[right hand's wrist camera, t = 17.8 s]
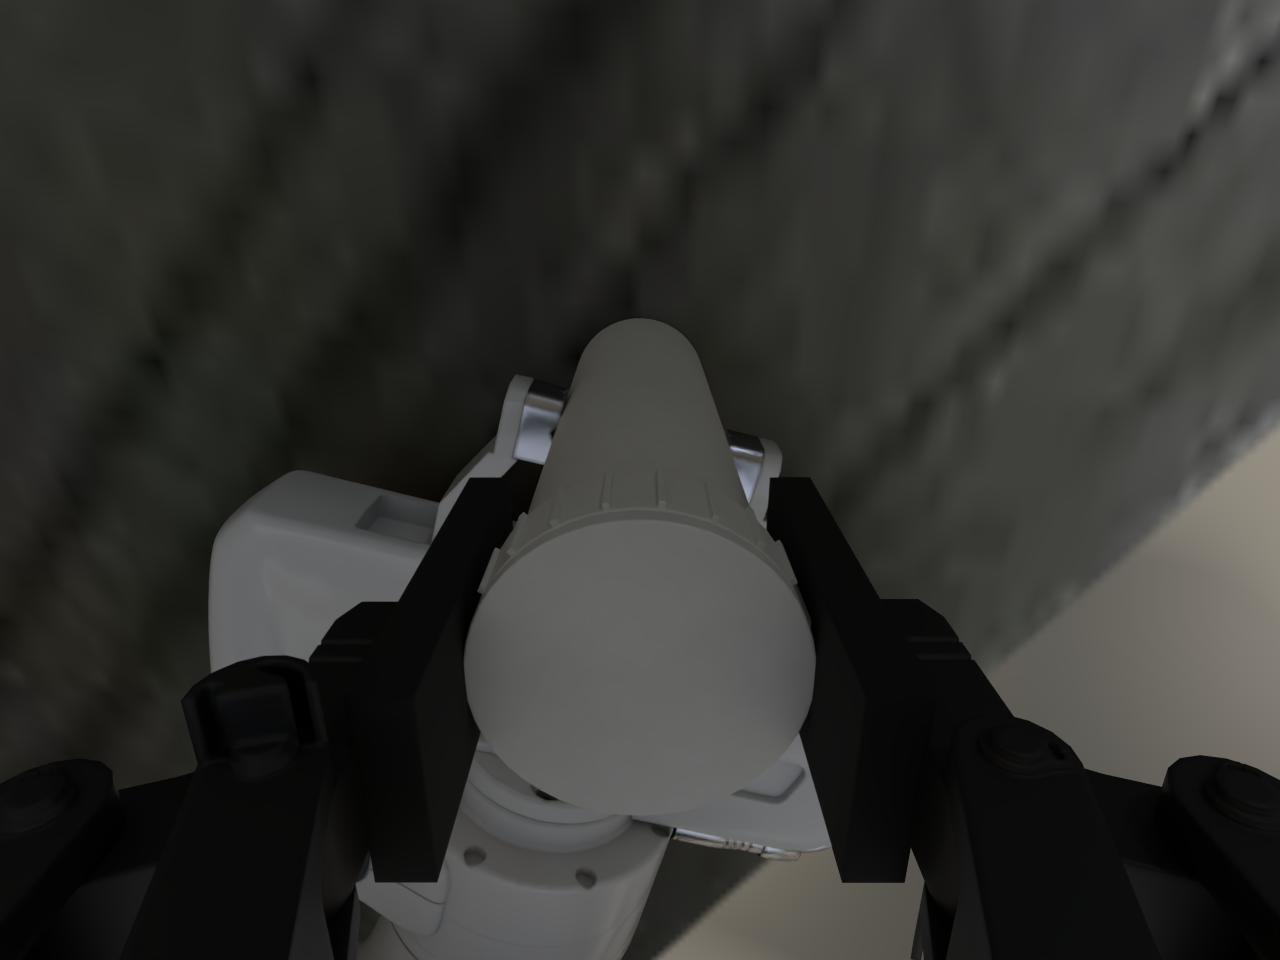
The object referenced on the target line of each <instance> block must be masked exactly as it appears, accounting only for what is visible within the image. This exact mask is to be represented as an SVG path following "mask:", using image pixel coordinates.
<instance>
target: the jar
mask: <svg viewBox="0 0 1280 960" xmlns="http://www.w3.org/2000/svg"><path fill="white" fill-rule="evenodd" d="M657 469H658V470H664V475H668V476H674V477H680V478H683V479H687V480H690V481H693V482H697V483H700V484H703V485H705V483H706V481H707V482H710V483H712V484H713V488H714V490H716V491H718V492H720V493H722V494H724V495H725V496H727V497H728V498H730V499H732V500H733V501H735V502H737V503H738V504H739V505H741V506H742V507H743V508H744V509H746V508H747V507H748V506H749V503H748V500H747V497H746V494H745V492H744V489H743V486H742V483H741V480H740V477H739V474H738V471H737V468H736V465H735V462H734V459H733V456H732V453H731V450H730V447H729V444H728V442H727V439H726V436H725V433H724V430H723V427H722V424H721V421H720V418H719V415H718V412H717V409H716V406H715V403H714V400H713V397H712V395H711V392H710V389H709V386H708V383H707V380H706V377H705V374H704V371H703V368H702V365H701V362H700V360H699V357H698V355H697V353H696V351H695V349H694V347H693V346H692V345H691V343H690V342H689V341H688V339H687V338H686V337H685V336H684V335H683V334H681V333H680V332H679V331H677V330H676V329H675V328H673V327H671V326H669V325H668V324H665V323H663V322H660V321H656V320H652V319H645V318H634V319H627V320H623V321H620V322H617V323H614V324H612V325H610V326H608V327H607V328H605V329H603V330H602V331H601V332H599V333H598V334H597V335H596V336H595V337H594V338H593V339H592V340H591V341H590V342H589V344H588V345H587V347H586V348H585V350H584V352H583V354H582V355H581V358H580V361H579V364H578V367H577V369H576V372H575V375H574V378H573V381H572V384H571V387H570V390H569V393H568V396H567V399H566V403H565V406H564V409H563V412H562V415H561V418H560V421H559V423H558V426H557V428H556V431H555V434H554V437H553V440H552V443H551V446H550V449H549V452H548V455H547V458H546V461H545V464H544V467H543V470H542V473H541V476H540V479H539V482H538V485H537V488H536V490H535V493H534V496H533V499H532V502H531V505H530V508H529V511H528V514H529V513H531V512H532V511H533V510H534V509H535V508H536V507H538V506H539V505H540V504H542V503H543V502H545V501H546V500H548V499H550V498H551V497H553V496H554V495H556V494H557V490H558V488H559V487H561V486H563V485H564V486H565V488H566V489H568V488H570V487H572V486H574V485H577V484H580V483H583V482H586V481H589V480H592V479H596V478H601V477H605V472H607V471H613V475H616V474H630V473H649V474H656V471H657ZM528 514H527V515H528Z"/></svg>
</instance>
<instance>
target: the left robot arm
mask: <svg viewBox="0 0 1280 960" xmlns="http://www.w3.org/2000/svg"><path fill="white" fill-rule="evenodd" d="M568 390H569V388H565V387H561V386H558V385H554V384H551V383H547V382H543V381H540V380H536V379H534V378H531V377H526V376H521V375H515V376H514V378H513V380H512V381H511V383H510V385H509V388H508V391H507V394H506V397H505V400H504V404H503V409H502V414H501V419H500V423H499V428H498V433H497V435H496V436H495V437H494V438H493V439H492V440H491V441H490V442H489V443H488V444H487V445H486V446H485V447H484V448H483V449H482V450H481V451H480V452H479V453H478V454H477V455H476V456H475V457H474V458H473V459H472V460H471V461H470V462H469V463H468V464H467V465H466V466H465V467H464V468H463V470H462V471H461V472H460V473H459V474H458V475H457V476H456V477H455V479H454V481H453V482H452V484H451V485H450V487H449V488H448V490H447V492H446V493H445V495H444V496H443V498H442V500H441V501H440V503H438V502H434V501H430V500H426V499H422V498H417V497H413V496H409V495H405V494H401V493H397V492H393V491H388V490H384V489H380V488H376V487H372V486H368V485H364V484H359V483H355V482H351V481H347V480H343V479H339V478H335V477H330V476H327V475H323V474H319V473H315V472H310V471H304V470H296V471H292V472H289V473H287V474H285V475H284V476H282V477H280V478H279V479H277V480H276V481H274V482H273V483H271V484H269V485H268V486H266V487H265V488H263V489H262V490H260V491H259V492H258V493H256V494H255V495H253V496H252V497H251V498H249V499H248V500H247V501H246V502H245V503H244V504H243V505H242V506H241V507H239V508H238V509H237V510H236V511H235V512H234V513H233V514H232V515H231V516H230V517H229V518H228V519H227V520H226V522H225V523H224V524H223V526H222V527H221V529H220V530H219V532H218V534H217V536H216V538H215V541H214V545H213V549H212V555H211V563H210V575H209V601H208V628H209V651H210V666H211V673H213V672H214V671H217V670H219V669H221V668H224V667H226V666H229V665H231V664H233V663H236V662H238V661H243V660H247V659H251V658H256V657H260V656H275V655H288V656H292V657H296V658H300V659H304V660H306V661H307V662H309V657H310V656H311V654H312V653H313V652H314V650H315V649H316V647H317V646H318V645H321V640H322V639H323V637H324V636H325V634H326V633H327V631H328V630H329V629H330V627H331V626H332V624H333V623H334V621H335V620H336V619H337V618H339V617H340V616H342V615H343V614H344V613H346V612H347V611H349V610H350V609H352V608H353V607H355V606H356V605H357V604H359V603H360V602H398V601H399V599H400V597H401V596H402V594H403V592H404V590H405V589H406V587H407V585H408V583H409V582H410V580H411V578H412V576H413V575H414V573H415V571H416V570H417V568H418V566H419V564H420V563H421V561H422V559H423V557H424V556H425V554H426V552H427V550H428V549H429V547H430V545H431V544H432V542H433V540H434V538H435V537H436V535H437V533H438V531H439V530H440V528H441V526H442V524H443V523H444V521H445V519H446V518H447V516H448V514H449V512H450V511H451V509H452V507H453V505H454V504H455V502H456V500H457V499H458V497H459V495H460V493H461V492H462V490H463V488H464V486H465V485H466V483H467V481H468V479H469V478H470V477H502V476H503V475H504V474H505V473H506V472H507V471H508V470H509V469H510V467H511V466H512V465H513V464H514V463H515V462H516V461H517V460H518V459H520V460H525V461H529V462H534V463H538V464H542V465H544V464H545V461H546V458H547V455H548V452H549V449H550V446H551V443H552V440H553V437H554V434H555V431H556V428H557V426H558V423H559V421H560V418H561V415H562V412H563V409H564V406H565V403H566V399H567V395H568ZM724 433H725V436H726V439H727V442H728V444H729V447H730V450H731V453H732V456H733V459H734V462H735V465H736V468H737V471H738V474H739V477H740V480H741V483H742V486H743V489H744V492H745V494H746V497H747V500H748V503H749V506H750V507H751V508H752V509H753V510H754V513H755V516H756V519H757V520H758V521H759V523H760V524H761V525H762V526H763V527H764V528H765V529H766V527H767V519H766V516H765V513H766V511H767V508H768V497H769V482H770V477H779V474H780V471H781V466H782V453H781V451H780V449H779V447H778V445H777V443H776V441H772V440H768V439H764V438H760V437H757V436H753V435H749V434H744V433H740V432H736V431H732V430H728V429H725V430H724ZM516 524H517V521H513V530H514V529H515V526H516ZM670 839H672V840H677V841H682V842H687V843H692V844H697V845H702V846H707V847H713V848H721V849H722V848H723V849H737V850H738V849H739V850H743V851H747V852H753V853H757V854H758V855H759V856H761V857H764V858H767V859H771V860H776V861H796V860H798V859H799V858H800V856H801V853H802V852H806V853H811V852H817V851H822V850H825V849H828V848H830V847H832V846H831V842H830V839H829V835H828V832H827V828H826V825H825V821H824V818H823V814H822V811H821V807H820V804H819V801H818V797H817V794H816V790H815V787H814V783H813V780H812V776H811V773H810V769H809V766H808V762H807V759H806V756H805V752H804V749H803V745H802V742H801V738H800V735H799V733H798V735H797V736H796V737H795V739H794V740H793V742H792V743H791V745H790V746H789V748H788V749H787V750H786V751H785V752H784V754H783V755H782V756H781V757H780V758H779V759H778V760H777V761H776V762H775V764H774V765H772V766H771V767H770V768H769V769H768V770H767V771H765V772H764V773H763V774H762V775H761V776H760V777H758V778H757V779H755V780H754V781H752V782H751V783H749V784H748V785H747V786H745V787H744V788H742V789H740V790H738V791H736V792H734V793H732V794H731V795H729V796H727V797H725V798H723V799H720V800H717V801H715V802H712V803H710V804H707V805H704V806H701V807H697V808H694V809H690V810H686V811H682V812H675V813H669V814H663V815H646V816H635V815H618V814H611V813H604V812H598V811H594V810H590V809H586V808H582V807H578V806H576V805H573V804H570V803H567V802H565V801H562V800H559V799H557V798H555V797H553V796H551V795H549V794H547V793H545V792H543V791H541V790H539V789H538V788H536V787H535V786H533V785H532V784H530V783H528V782H527V781H525V780H524V779H523V778H521V777H520V776H519V775H518V774H516V773H515V772H514V771H513V770H512V769H510V768H509V767H508V766H507V765H506V764H505V763H504V762H503V761H502V760H501V759H500V757H499V756H498V755H497V754H496V753H495V752H494V751H493V749H492V748H491V747H490V745H489V744H488V742H487V741H486V740H485V738H484V737H483V735H482V733H480V737H479V740H478V744H477V747H476V751H475V754H474V758H473V761H472V764H471V768H470V771H469V775H468V778H467V782H466V785H465V789H464V792H463V796H462V799H461V802H460V806H459V809H458V813H457V816H456V820H455V823H454V827H453V830H452V834H451V837H450V841H449V844H448V847H447V851H446V854H445V858H444V861H443V865H442V868H441V872H440V875H439V879H438V882H437V883H375V880H374V874H373V868H372V863H371V857H370V851H368V854H367V856H366V859H365V861H364V864H363V866H362V868H361V871H360V873H359V876H358V878H357V881H356V887H357V893H358V898H359V900H361V901H362V902H364V903H365V904H367V905H368V906H370V907H371V908H373V909H374V910H375V911H377V912H378V913H380V917H379V919H378V921H377V923H376V925H375V927H374V928H373V930H372V932H371V933H370V935H369V936H368V937H367V938H366V939H365V940H363V941H361V942H358V946H357V956H356V960H621V958H622V956H623V955H624V953H625V951H626V950H627V948H628V946H629V944H630V942H631V940H632V937H633V935H634V932H635V930H636V927H637V925H638V922H639V920H640V917H641V914H642V912H643V909H644V906H645V904H646V901H647V898H648V896H649V893H650V890H651V888H652V885H653V882H654V880H655V877H656V874H657V872H658V869H659V866H660V864H661V861H662V858H663V856H664V853H665V850H666V848H667V845H668V842H669V840H670Z"/></svg>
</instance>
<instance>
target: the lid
mask: <svg viewBox="0 0 1280 960" xmlns="http://www.w3.org/2000/svg"><path fill="white" fill-rule="evenodd" d="M797 583H798V582H797V580H796V577H795V575H794V572H793V569H792V567H791V564H790V562H789V559H788V557H787V554H786V552H785V549H784V547H783V544H782V543H781V541H780V540H778V541H776V542H774V540H773V539H772V537H771V536H770V534H769V533H768V531H767V530H766V529H765V528H764V527H763V526H762V525H761V524H760V523H759V521H758V520H757V519H756V516H755V513H754V510H753V509H752V508H751V507H750V506H748V507H747V508H746V509H744V508H743V507H742V506H741V505H739V504H738V503H737V502H735V501H733V500H732V499H730V498H728V497H727V496H725V495H724V494H722V493H720V492H718V491H716V490H714V488H713V484H712V483H710V482H707V481H706V483H705V485H703V484H700V483H697V482H693V481H690V480H687V479H683V478H680V477H674V476H668V475H664V470H658V469H657V471H656V474H649V473H630V474H616V475H613V471H607V472H605V477H601V478H596V479H592V480H589V481H586V482H583V483H580V484H577V485H574V486H572V487H570V488H568V489H566V488H565V486H564V485H563V486H561V487H559V488H558V490H557V494H556V495H554V496H553V497H551V498H550V499H548V500H546V501H545V502H543V503H542V504H540V505H539V506H538V507H536V508H535V509H534V510H533V511H532V512H531V513H529V514H528V515H527V514H526V513H524V512H523V513H522V514H521V515H520V516H519V518H518V521H517V524H516V526H515V529H514V530H513V531H512V532H511V533H510V535H509V536H508V538H507V540H506V541H505V543H504V544H503V546H502V547H501V549H498V548H495V549H494V551H493V553H492V556H491V558H490V561H489V563H488V566H487V568H486V571H485V573H484V576H483V578H482V581H481V583H480V586H479V588H478V591H477V592H479V593H481V594H482V595H481V597H480V600H479V603H478V605H477V608H476V611H475V613H474V616H473V618H472V621H471V624H470V627H469V631H468V634H467V638H466V641H465V648H464V672H465V683H466V692H467V700H468V704H469V706H470V709H471V712H472V715H473V718H474V720H475V722H476V724H477V726H478V728H479V729H480V731H481V733H482V735H483V737H484V738H485V740H486V741H487V742H488V744H489V745H490V747H491V748H492V749H493V751H494V752H495V753H496V754H497V755H498V756H499V757H500V759H501V760H502V761H503V762H504V763H505V764H506V765H507V766H508V767H509V768H510V769H512V770H513V771H514V772H515V773H516V774H518V775H519V776H520V777H521V778H523V779H524V780H525V781H527V782H528V783H530V784H532V785H533V786H535V787H536V788H538V789H539V790H541V791H543V792H545V793H547V794H549V795H551V796H553V797H555V798H557V799H559V800H562V801H565V802H567V803H570V804H573V805H576V806H578V807H582V808H586V809H590V810H594V811H598V812H604V813H611V814H618V815H635V816H646V815H663V814H669V813H675V812H682V811H686V810H690V809H694V808H697V807H701V806H704V805H707V804H710V803H712V802H715V801H717V800H720V799H723V798H725V797H727V796H729V795H731V794H732V793H734V792H736V791H738V790H740V789H742V788H744V787H745V786H747V785H748V784H749V783H751V782H752V781H754V780H755V779H757V778H758V777H760V776H761V775H762V774H763V773H764V772H765V771H767V770H768V769H769V768H770V767H771V766H772V765H774V764H775V762H776V761H777V760H778V759H779V758H780V757H781V756H782V755H783V754H784V752H785V751H786V750H787V749H788V748H789V746H790V745H791V743H792V742H793V740H794V739H795V737H796V736H797V735H798V733H799V731H800V729H801V727H802V725H803V723H804V721H805V719H806V717H807V714H808V711H809V708H810V705H811V702H812V696H813V687H814V678H815V667H816V651H815V644H814V638H813V635H812V632H811V628H810V627H811V619H810V616H809V614H808V611H807V608H806V606H805V603H804V601H803V598H802V596H801V593H800V591H799V588H798V585H797Z"/></svg>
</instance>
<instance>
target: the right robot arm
mask: <svg viewBox="0 0 1280 960" xmlns="http://www.w3.org/2000/svg"><path fill="white" fill-rule="evenodd" d="M766 530H767V531H768V533H769V534H770V536H771V537H772V539H773V540H774V542H776V541H778V540H780V541H781V543H782V544H783V547H784V549H785V552H786V554H787V557H788V559H789V562H790V564H791V567H792V569H793V572H794V575H795V577H796V580H797V582H798V583H797V585H798V588H799V591H800V593H801V596H802V598H803V601H804V603H805V606H806V608H807V611H808V614H809V616H810V619H811V627H810V628H811V632H812V635H813V638H814V644H815V651H816V667H815V678H814V687H813V696H812V702H811V705H810V708H809V711H808V714H807V717H806V719H805V721H804V723H803V725H802V727H801V729H800V731H799V735H800V738H801V742H802V745H803V749H804V752H805V756H806V759H807V762H808V766H809V769H810V773H811V776H812V780H813V783H814V787H815V790H816V794H817V797H818V801H819V804H820V807H821V811H822V814H823V818H824V821H825V825H826V828H827V832H828V835H829V839H830V842H831V846H832V849H833V852H834V856H835V859H836V863H837V866H838V870H839V873H840V877H841V880H842V883H904V882H905V877H906V872H907V866H908V860H909V855H910V849H912V851H913V853H914V856H915V858H916V861H917V863H918V866H919V868H920V871H921V873H922V875H923V878H924V880H925V882H924V887H923V893H922V898H921V903H920V909H919V914H918V919H917V925H916V930H915V935H914V940H913V947H912V953H911V959H913V960H921V956H922V951H923V954H924V960H1280V780H1279V779H1277V778H1275V777H1273V776H1271V775H1269V774H1267V773H1265V772H1263V771H1261V770H1259V769H1257V768H1254V767H1252V766H1249V765H1246V764H1242V763H1240V762H1236V761H1232V760H1229V759H1226V758H1218V757H1210V756H1202V755H1198V756H1192V757H1185V758H1180V759H1178V760H1177V761H1176V762H1175V763H1173V764H1172V765H1171V766H1170V767H1169V768H1168V770H1167V773H1166V776H1165V779H1164V782H1163V785H1162V787H1160V786H1155V785H1151V784H1146V783H1142V782H1137V781H1133V780H1128V779H1124V778H1119V777H1114V776H1110V775H1105V774H1102V773H1098V772H1095V771H1091V770H1088V769H1084V767H1083V764H1082V762H1081V761H1080V759H1079V758H1078V757H1077V755H1076V754H1075V752H1074V751H1073V749H1072V748H1071V747H1070V746H1069V745H1068V744H1067V743H1065V742H1064V741H1063V740H1062V739H1060V738H1059V737H1058V736H1056V735H1055V734H1054V733H1053V732H1051V731H1049V730H1047V729H1045V728H1043V727H1041V726H1038V725H1036V724H1034V723H1032V722H1030V721H1028V720H1024V719H1020V718H1016V717H1014V716H1013V715H1012V713H1011V712H1010V710H1009V709H1008V707H1007V706H1006V705H1005V703H1004V702H1003V700H1002V699H1001V698H1000V696H999V695H998V693H997V692H996V690H995V689H994V687H993V686H992V685H991V683H990V682H989V680H988V679H987V678H986V676H985V675H984V673H983V672H982V670H981V669H980V668H979V666H978V665H977V663H976V662H975V660H971V655H970V653H969V652H968V650H967V649H966V648H965V646H964V645H963V643H962V642H959V638H958V636H957V635H956V633H955V632H954V630H953V629H952V628H951V626H950V625H949V623H948V622H947V620H946V619H945V618H944V617H943V616H942V615H940V614H939V613H937V612H936V611H935V610H933V609H932V608H930V607H929V606H927V605H926V604H924V603H923V602H922V601H920V600H919V599H880V598H879V596H878V595H877V593H876V591H875V589H874V588H873V586H872V584H871V582H870V581H869V579H868V577H867V576H866V574H865V572H864V570H863V569H862V567H861V565H860V563H859V562H858V560H857V558H856V556H855V555H854V553H853V551H852V550H851V548H850V546H849V544H848V543H847V541H846V539H845V537H844V536H843V534H842V532H841V530H840V529H839V527H838V525H837V524H836V522H835V520H834V518H833V517H832V515H831V513H830V511H829V510H828V508H827V506H826V505H825V503H824V501H823V499H822V498H821V496H820V494H819V492H818V491H817V489H816V487H815V485H814V484H813V482H812V480H811V479H810V477H770V482H769V497H768V512H767V527H766ZM512 531H513V519H512V504H511V489H510V477H470V478H469V479H468V481H467V483H466V485H465V486H464V488H463V490H462V492H461V493H460V495H459V497H458V499H457V500H456V502H455V504H454V505H453V507H452V509H451V511H450V512H449V514H448V516H447V518H446V519H445V521H444V523H443V524H442V526H441V528H440V530H439V531H438V533H437V535H436V537H435V538H434V540H433V542H432V544H431V545H430V547H429V549H428V550H427V552H426V554H425V556H424V557H423V559H422V561H421V563H420V564H419V566H418V568H417V570H416V571H415V573H414V575H413V576H412V578H411V580H410V582H409V583H408V585H407V587H406V589H405V590H404V592H403V594H402V596H401V597H400V599H399V601H398V602H360V603H359V604H357V605H356V606H355V607H353V608H352V609H350V610H349V611H347V612H346V613H344V614H343V615H342V616H340V617H339V618H337V619H336V620H335V621H334V623H333V624H332V626H331V627H330V629H329V630H328V631H327V633H326V634H325V636H324V637H323V639H322V640H321V645H318V646H317V647H316V649H315V650H314V652H313V653H312V654H311V656H310V657H309V662H307V661H306V660H304V659H300V658H296V657H292V656H288V655H275V656H260V657H256V658H251V659H247V660H243V661H238V662H236V663H233V664H231V665H229V666H226V667H224V668H221V669H219V670H217V671H214V672H213V673H211V674H210V675H208V676H207V677H205V678H204V679H202V680H201V681H199V682H198V683H196V684H195V685H194V686H193V687H192V688H191V689H190V690H189V692H188V693H187V694H186V695H185V697H184V698H183V699H182V700H181V703H182V707H183V711H184V714H185V718H186V722H187V725H188V729H189V733H190V736H191V740H192V744H193V748H194V751H195V755H196V759H197V762H198V766H197V768H196V770H195V772H193V773H189V774H186V775H182V776H179V777H175V778H171V779H166V780H162V781H157V782H153V783H148V784H144V785H139V786H134V787H130V788H125V789H121V790H118V787H117V784H116V781H115V778H114V775H113V772H112V770H110V769H109V768H108V767H107V766H106V765H104V764H103V763H102V762H100V761H94V760H87V759H81V758H80V759H73V760H65V761H57V762H52V763H49V764H46V765H42V766H40V767H35V768H33V769H30V770H27V771H25V772H22V773H20V774H19V775H17V776H15V777H13V778H11V779H9V780H7V781H5V782H3V783H1V784H0V960H356V956H357V946H358V936H359V926H360V916H361V912H360V905H359V898H358V893H357V887H356V881H357V878H358V876H359V873H360V871H361V868H362V866H363V864H364V861H365V859H366V856H367V854H368V851H370V857H371V863H372V868H373V874H374V880H375V883H437V882H438V879H439V875H440V872H441V868H442V865H443V861H444V858H445V854H446V851H447V847H448V844H449V841H450V837H451V834H452V830H453V827H454V823H455V820H456V816H457V813H458V809H459V806H460V802H461V799H462V796H463V792H464V789H465V785H466V782H467V778H468V775H469V771H470V768H471V764H472V761H473V758H474V754H475V751H476V747H477V744H478V740H479V737H480V733H481V731H480V729H479V728H478V726H477V724H476V722H475V720H474V718H473V715H472V712H471V709H470V706H469V704H468V700H467V692H466V683H465V672H464V648H465V641H466V638H467V634H468V631H469V627H470V624H471V621H472V618H473V616H474V613H475V611H476V608H477V605H478V603H479V600H480V597H481V595H482V594H481V593H479V592H477V591H478V588H479V586H480V583H481V581H482V578H483V576H484V573H485V571H486V568H487V566H488V563H489V561H490V558H491V556H492V553H493V551H494V549H495V548H498V549H501V547H502V546H503V544H504V543H505V541H506V540H507V538H508V536H509V535H510V533H511V532H512Z"/></svg>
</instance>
